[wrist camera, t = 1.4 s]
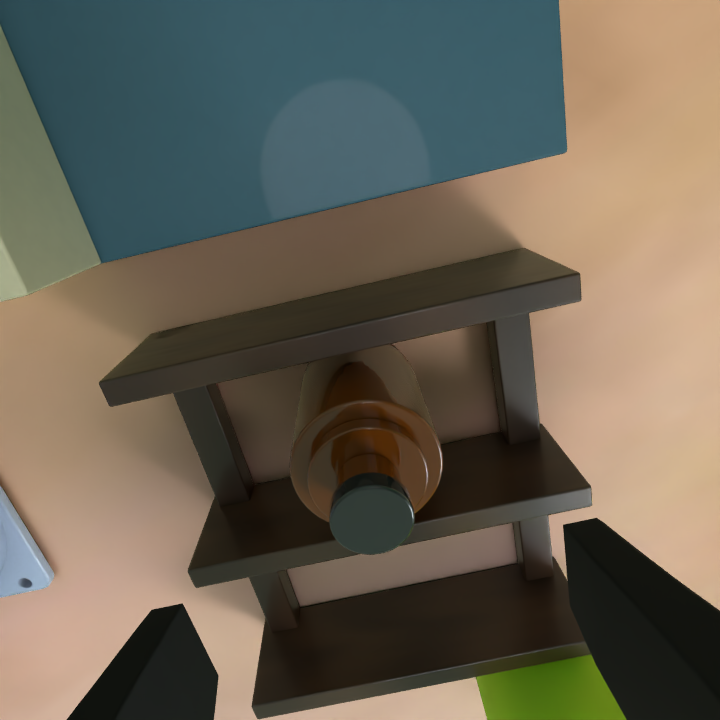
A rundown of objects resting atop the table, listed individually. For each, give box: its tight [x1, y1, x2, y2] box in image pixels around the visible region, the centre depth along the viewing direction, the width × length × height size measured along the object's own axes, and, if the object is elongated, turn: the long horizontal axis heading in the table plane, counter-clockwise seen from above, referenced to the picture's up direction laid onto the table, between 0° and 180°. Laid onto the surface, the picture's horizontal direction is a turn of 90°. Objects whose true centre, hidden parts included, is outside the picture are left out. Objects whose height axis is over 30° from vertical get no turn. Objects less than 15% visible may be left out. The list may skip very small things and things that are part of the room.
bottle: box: [289, 344, 443, 555], centre depth 15 cm, size 4×4×7 cm
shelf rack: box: [99, 248, 592, 719], centre depth 17 cm, size 13×14×4 cm
